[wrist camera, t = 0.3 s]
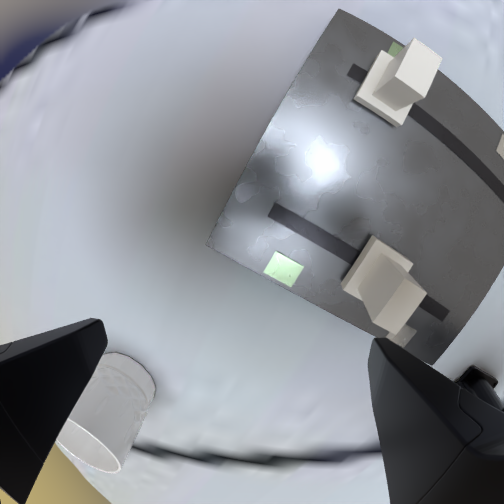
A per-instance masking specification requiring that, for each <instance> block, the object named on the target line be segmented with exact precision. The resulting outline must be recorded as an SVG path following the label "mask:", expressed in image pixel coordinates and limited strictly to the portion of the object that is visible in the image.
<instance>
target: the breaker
mask: <svg viewBox="0 0 504 504" xmlns="http://www.w3.org/2000/svg"><path fill="white" fill-rule="evenodd" d="M441 61H442V58H441V57H440V56H439V55H437V54H436V53H435V52H433V51H432V50H431V49H429V48H428V47H427V46H425V45H424V44H423V43H421V42H420V41H418V40H417V39H415V38H413V39H412V40H411V41H410V42H409V43H408V44H407V45H406V46H405V47H404V48H403V49H402V50H401V51H400V52H399V53H398V54H397V55H396V56H395V57H392V56H391V55H389V54H387V53H386V52H384V51H383V50H381V51H380V53H379V54H378V55H377V57H376V59H375V60H374V62H373V64H372V66H371V68H370V70H369V71H368V73H367V75H366V77H365V79H364V81H363V82H362V84H361V86H360V88H359V90H358V91H357V93H356V95H355V97H354V100H356V101H357V102H359V103H360V104H362V105H364V106H365V107H367V108H368V109H370V110H372V111H373V112H375V113H376V114H378V115H379V116H381V117H382V118H384V119H385V120H387V121H388V122H390V123H391V124H392V125H394V126H395V127H398V126H401V125H402V124H403V122H404V121H405V119H406V117H407V115H408V113H409V111H410V109H411V107H412V105H413V103H414V102H417V101H419V100H421V99H423V98H425V96H426V94H427V92H428V90H429V88H430V86H431V83H432V81H433V79H434V77H435V74H436V72H437V70H438V68H439V65H440V63H441Z"/></svg>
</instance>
